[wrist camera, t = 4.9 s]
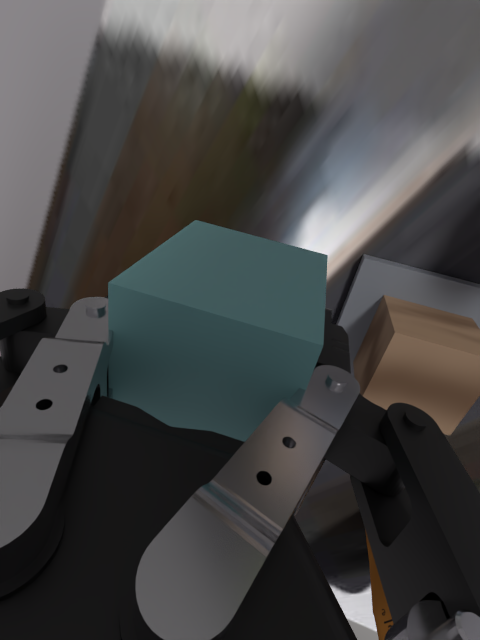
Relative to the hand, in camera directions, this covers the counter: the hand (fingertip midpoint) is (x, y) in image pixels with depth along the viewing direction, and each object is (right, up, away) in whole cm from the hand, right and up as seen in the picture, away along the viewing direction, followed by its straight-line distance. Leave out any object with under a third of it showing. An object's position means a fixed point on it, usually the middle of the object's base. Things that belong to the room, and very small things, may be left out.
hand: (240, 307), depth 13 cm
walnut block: (+14, -2, +17) cm, 22 cm away
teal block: (0, 0, +1) cm, 1 cm away
